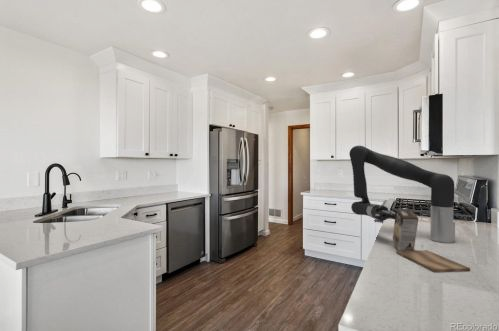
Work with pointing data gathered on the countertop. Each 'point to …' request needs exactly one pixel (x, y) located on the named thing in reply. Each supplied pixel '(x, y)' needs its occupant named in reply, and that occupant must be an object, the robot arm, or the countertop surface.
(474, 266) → the countertop surface
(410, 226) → the coffee box
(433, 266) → the cutting board
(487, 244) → the countertop surface
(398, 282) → the countertop surface
